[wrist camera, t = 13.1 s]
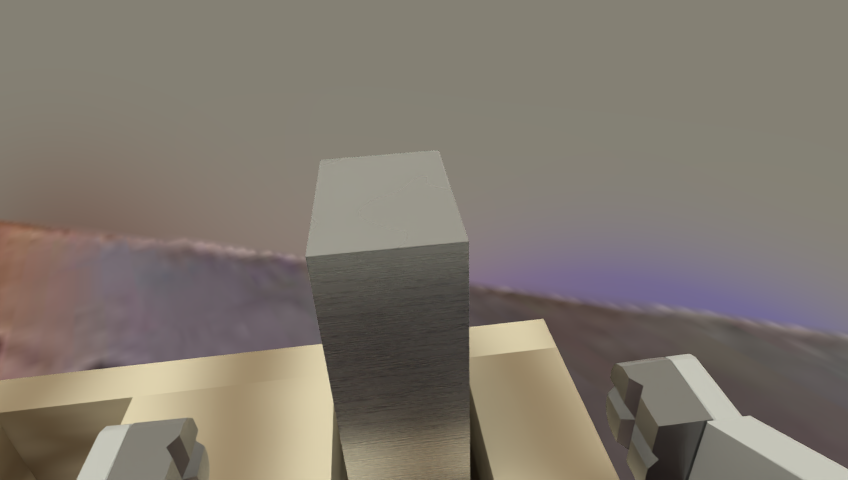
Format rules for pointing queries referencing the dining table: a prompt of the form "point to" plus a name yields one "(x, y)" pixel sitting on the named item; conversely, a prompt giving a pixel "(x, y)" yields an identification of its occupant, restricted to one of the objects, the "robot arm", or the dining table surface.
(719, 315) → the dining table surface
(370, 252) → the grey square pillar
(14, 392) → the hollow cinder block
